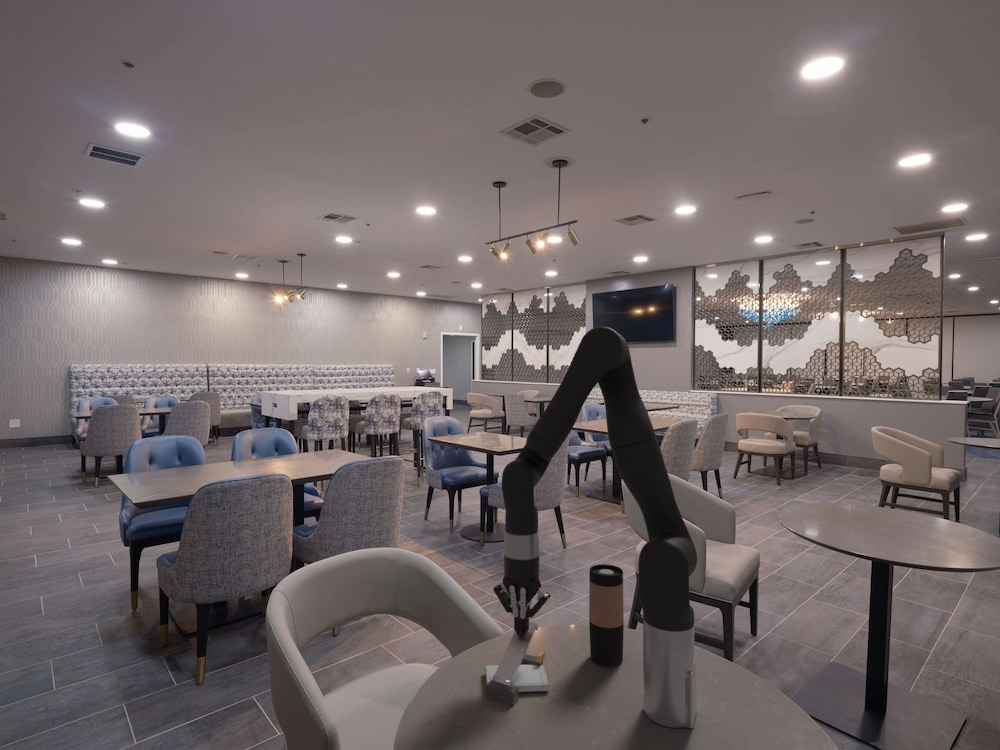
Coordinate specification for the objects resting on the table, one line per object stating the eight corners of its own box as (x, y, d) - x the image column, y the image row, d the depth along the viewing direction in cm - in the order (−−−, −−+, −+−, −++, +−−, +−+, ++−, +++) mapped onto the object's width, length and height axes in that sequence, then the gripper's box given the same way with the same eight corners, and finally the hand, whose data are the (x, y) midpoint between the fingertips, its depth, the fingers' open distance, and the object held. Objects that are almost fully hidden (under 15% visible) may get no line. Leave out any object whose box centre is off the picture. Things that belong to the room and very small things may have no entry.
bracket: (544, 670, 115) (544, 652, 115) (515, 706, 102) (515, 686, 102) (516, 662, 118) (516, 645, 118) (484, 696, 105) (484, 677, 105)
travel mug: (583, 653, 122) (583, 566, 123) (613, 648, 124) (612, 562, 125) (599, 670, 115) (599, 577, 115) (630, 664, 117) (630, 573, 118)
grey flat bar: (538, 628, 116) (536, 622, 115) (511, 691, 104) (509, 685, 103) (521, 625, 117) (519, 618, 117) (493, 686, 106) (491, 679, 105)
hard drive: (487, 686, 106) (548, 683, 106) (485, 664, 114) (542, 662, 115) (487, 694, 106) (549, 692, 106) (485, 672, 114) (542, 670, 115)
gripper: (557, 551, 113) (556, 633, 113) (502, 542, 119) (501, 620, 119) (543, 562, 107) (543, 649, 107) (485, 552, 113) (485, 634, 113)
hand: (521, 633), depth 113 cm, fingers closed
